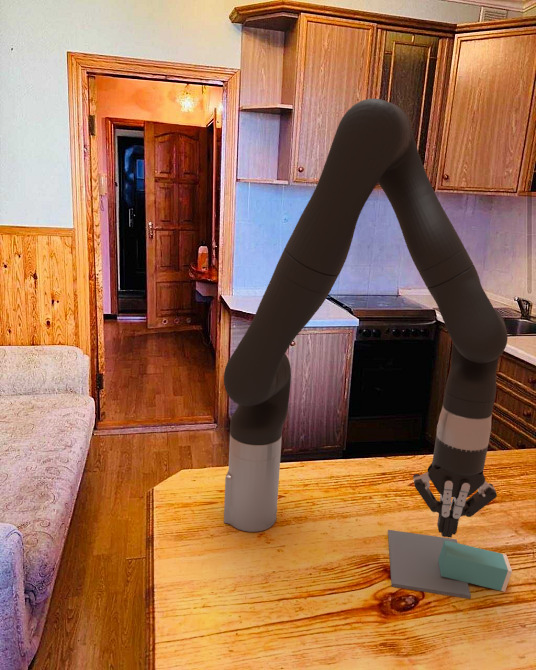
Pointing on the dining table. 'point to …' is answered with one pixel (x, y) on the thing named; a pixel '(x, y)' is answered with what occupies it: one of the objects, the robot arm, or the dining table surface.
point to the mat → (421, 564)
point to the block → (474, 565)
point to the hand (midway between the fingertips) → (446, 533)
